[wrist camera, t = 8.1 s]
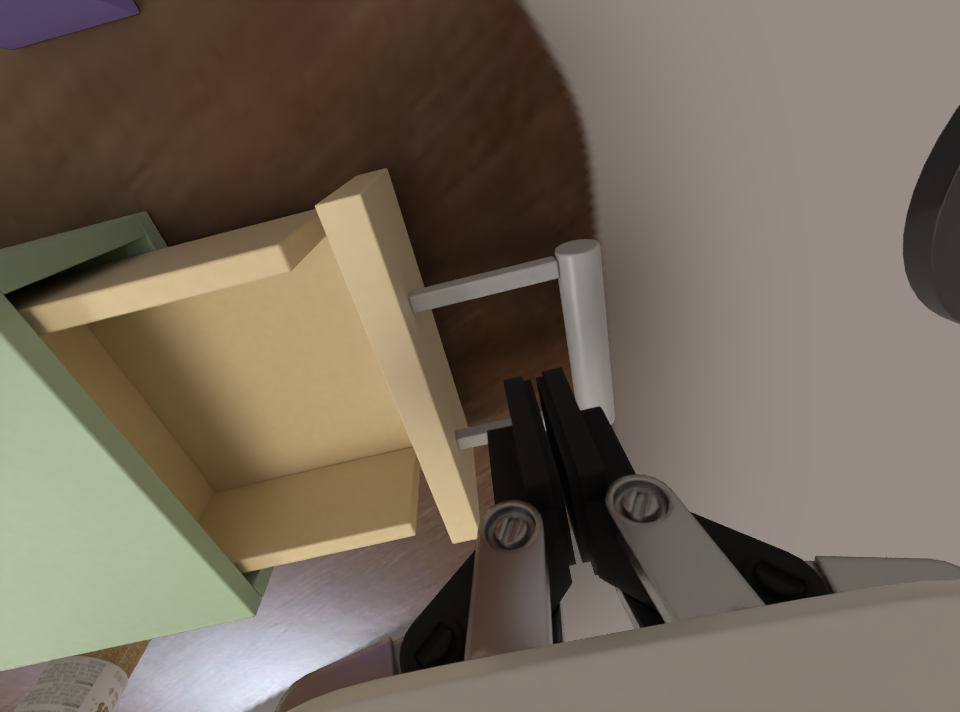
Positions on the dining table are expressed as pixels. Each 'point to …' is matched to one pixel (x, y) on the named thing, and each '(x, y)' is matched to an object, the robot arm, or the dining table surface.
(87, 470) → the drawer cabinet
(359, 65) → the dining table surface
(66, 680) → the sprinkles bottle
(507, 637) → the robot arm
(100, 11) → the purple cube
